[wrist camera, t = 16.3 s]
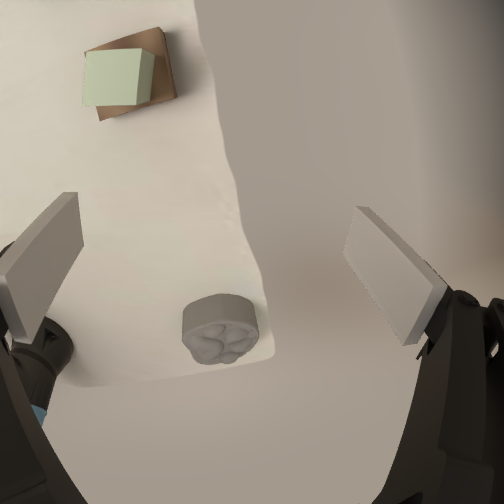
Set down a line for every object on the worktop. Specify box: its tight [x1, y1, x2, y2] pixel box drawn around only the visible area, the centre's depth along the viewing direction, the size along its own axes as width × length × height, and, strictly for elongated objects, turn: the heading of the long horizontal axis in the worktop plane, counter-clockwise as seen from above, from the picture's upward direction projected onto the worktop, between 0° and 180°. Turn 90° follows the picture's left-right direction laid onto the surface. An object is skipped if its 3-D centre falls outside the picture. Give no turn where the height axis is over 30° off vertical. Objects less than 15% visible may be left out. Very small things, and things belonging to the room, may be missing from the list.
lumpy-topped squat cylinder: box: [182, 294, 259, 365], centre depth 55 cm, size 10×13×9 cm
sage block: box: [82, 48, 155, 107], centre depth 28 cm, size 6×6×8 cm
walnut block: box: [84, 27, 177, 121], centre depth 33 cm, size 10×10×5 cm
